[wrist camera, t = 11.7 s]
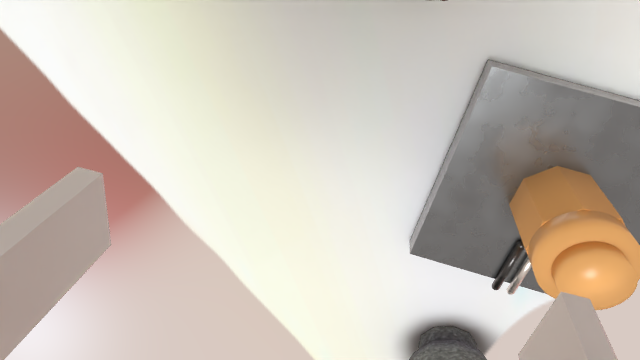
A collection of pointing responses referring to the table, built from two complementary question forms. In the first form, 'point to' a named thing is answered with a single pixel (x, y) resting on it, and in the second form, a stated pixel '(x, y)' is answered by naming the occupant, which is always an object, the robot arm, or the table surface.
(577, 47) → the table surface
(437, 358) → the mortar and pestle
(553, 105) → the junction plate
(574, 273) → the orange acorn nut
